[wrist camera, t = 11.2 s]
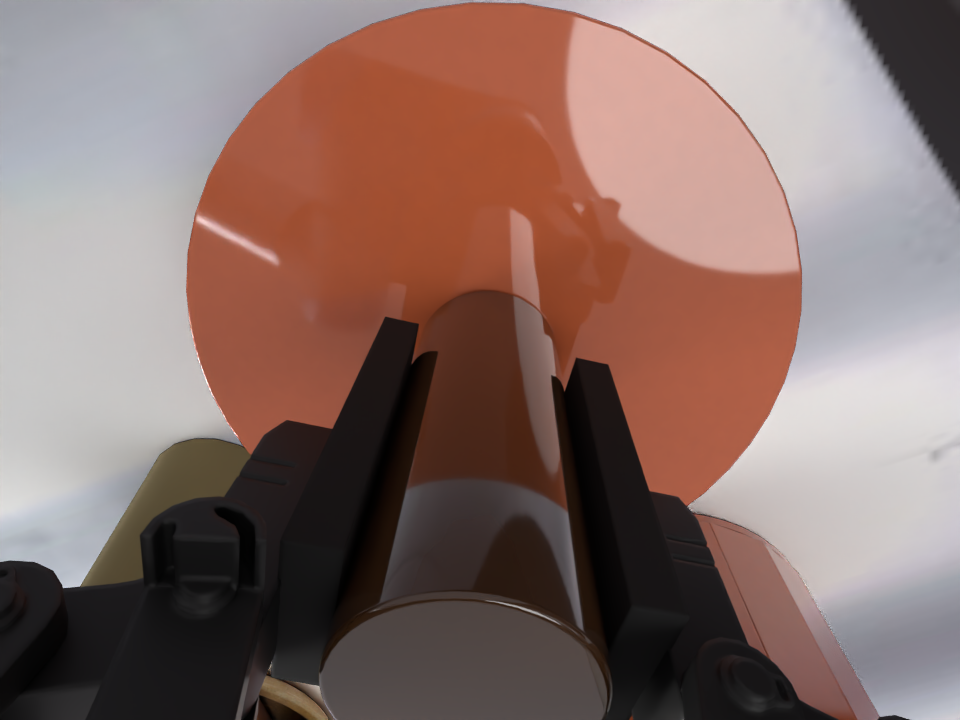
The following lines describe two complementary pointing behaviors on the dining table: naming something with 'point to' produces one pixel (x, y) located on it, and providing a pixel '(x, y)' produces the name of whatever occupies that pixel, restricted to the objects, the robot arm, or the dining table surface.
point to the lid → (493, 323)
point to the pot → (785, 621)
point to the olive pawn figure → (166, 500)
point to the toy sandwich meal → (286, 703)
